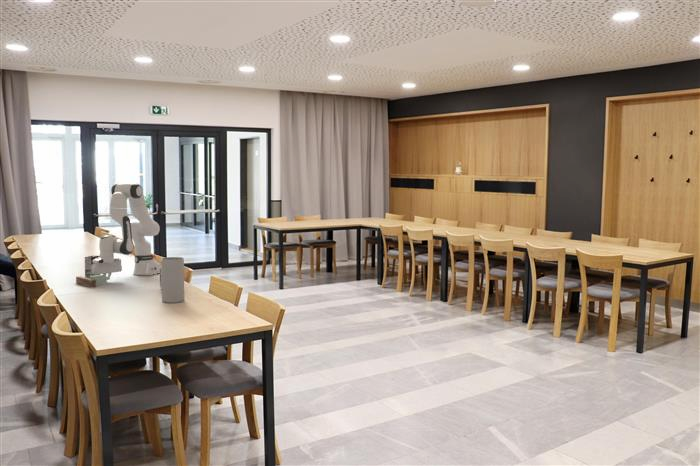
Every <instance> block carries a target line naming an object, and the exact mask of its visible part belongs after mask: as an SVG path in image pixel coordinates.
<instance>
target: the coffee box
mask: <svg viewBox="0 0 700 466" xmlns="http://www.w3.org/2000/svg"><path fill="white" fill-rule="evenodd" d="M98 257H100V255H88V256H85V257H84V277H86V278H90V276H94V274H92V264H93V262H92V261H93V260H94V259H96V258H98ZM97 275H102V274H97Z"/></svg>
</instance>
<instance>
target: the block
mask: <svg viewBox="0 0 700 466" xmlns="http://www.w3.org/2000/svg"><path fill="white" fill-rule="evenodd" d="M107 277H108V275H106V276H104V275H103V274H101V275H94V276H90V279H94V280H96V286H97V285H106V284H107V283H108V280H107Z"/></svg>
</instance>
